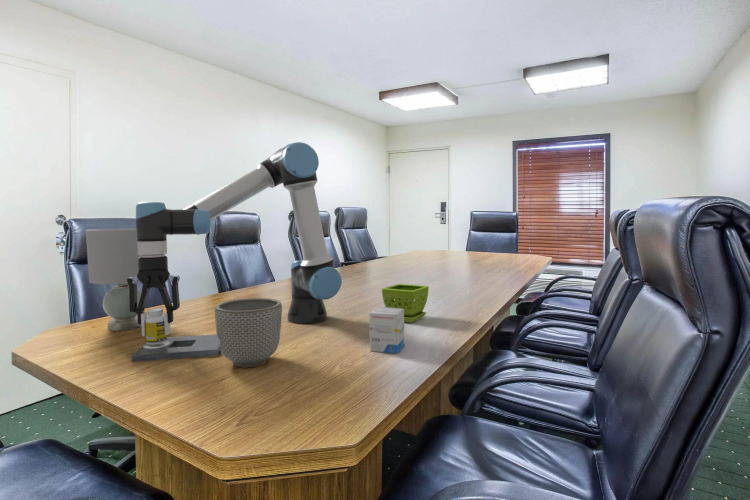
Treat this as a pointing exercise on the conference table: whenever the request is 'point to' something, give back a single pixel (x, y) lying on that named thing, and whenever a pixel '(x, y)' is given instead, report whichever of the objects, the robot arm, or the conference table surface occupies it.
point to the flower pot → (406, 299)
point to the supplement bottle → (155, 327)
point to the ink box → (386, 329)
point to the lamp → (114, 272)
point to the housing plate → (179, 348)
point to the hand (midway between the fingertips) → (156, 334)
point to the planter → (248, 330)
